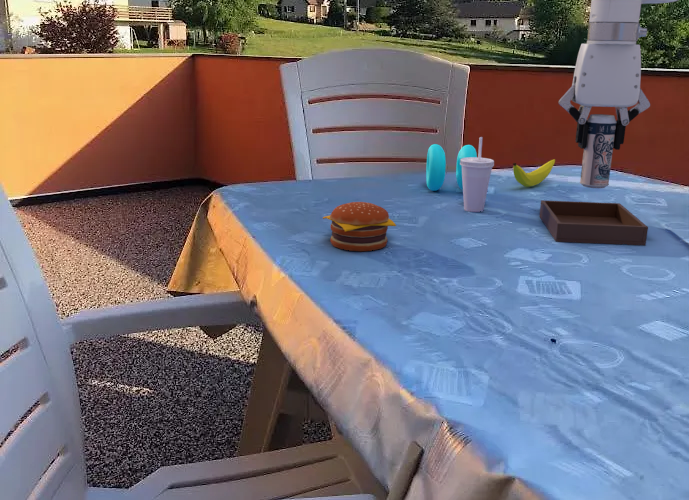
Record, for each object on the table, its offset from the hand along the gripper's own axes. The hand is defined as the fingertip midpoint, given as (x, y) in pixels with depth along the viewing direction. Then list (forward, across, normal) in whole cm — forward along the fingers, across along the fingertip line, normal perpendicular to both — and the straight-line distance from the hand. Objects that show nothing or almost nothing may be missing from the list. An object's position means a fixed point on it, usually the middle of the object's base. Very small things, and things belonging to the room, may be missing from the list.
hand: (598, 146), depth 119 cm
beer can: (+7, 0, 0) cm, 7 cm away
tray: (+14, 0, 0) cm, 14 cm away
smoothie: (+15, +19, -12) cm, 27 cm away
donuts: (+15, +23, -29) cm, 40 cm away
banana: (+15, +4, -38) cm, 41 cm away
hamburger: (+15, +39, +15) cm, 44 cm away
